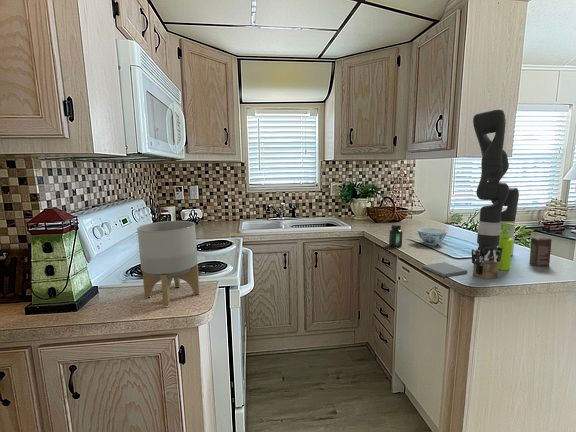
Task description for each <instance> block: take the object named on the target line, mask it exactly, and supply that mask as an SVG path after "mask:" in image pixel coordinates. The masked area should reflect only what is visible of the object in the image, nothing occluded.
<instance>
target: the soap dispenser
mask: <svg viewBox="0 0 576 432" xmlns="http://www.w3.org/2000/svg"><path fill="white" fill-rule="evenodd" d="M501 224H503V229H502V230H501V231H500V241H499V245H498V247H502V248H503V250H502V255H501V260H500V262H497V263H499V267H498V271H499V270H500V271H509V270H511V265H512V264H511V261H512V255H513V254H512V244H513V239H511V238H509V237H510V231H509V230H508V225H511V226H515V227H517V226H518V225H517V224H516V223H515V224H513V223H501ZM511 254H512V255H511ZM496 257H497V258H498V255H497V256H496Z"/></svg>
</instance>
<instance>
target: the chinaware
mask: <svg viewBox="0 0 576 432" xmlns="http://www.w3.org/2000/svg"><path fill="white" fill-rule="evenodd" d="M447 232H448V231H447V230H446V229H442V228H437V227H436V228H434V227H422V228H421V227H420V228H417V234H418V237H419V238H420V239H421V240H422V241H423V242H424V244H425V245H427V244H428V246H437V244H438V245H439V243H440V242H442V241H444V239H445V237H446V236H447Z"/></svg>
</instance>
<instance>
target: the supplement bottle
mask: <svg viewBox="0 0 576 432" xmlns="http://www.w3.org/2000/svg"><path fill="white" fill-rule="evenodd" d="M390 228H391V229H389V235H388V236H389V237H388V246H389V248H395V249H398V248H400V249H401V248H402V247H403V231H402V225H401V224H397V223H395V224H391V227H390Z"/></svg>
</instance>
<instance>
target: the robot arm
mask: <svg viewBox="0 0 576 432" xmlns="http://www.w3.org/2000/svg"><path fill="white" fill-rule="evenodd" d="M472 118H473V119H472V124H473V130H474V132H475V135H476V138H477V142H478V144H479V147H480V151H481V156H482V157H481V168H480V169H481V175H480V180H479V182H478V185H477V188H476V197H477V198H478V199H479V200H480V201H490V202H491V204H490V205H485V206H481V207H480V210H479V211H480V212H479V220H478V221H479V223H478V225H477V235H476V237H477V238H476V243H477V244H478V247H477V248H476V249H474V248H472V249H471V263H472V264H473V265H474V264H476V273H477V274H479V275H482V270H483V263H484V261H486V260H491V261H494V262H500V260H501V255H502V250H503V248H502V247H498V245H499V241H500V231H501V230H502V229H503V224H501V223H513V224H516V216H517V211H518V205H519V199H520V198H519V196H520V191H519V189H518V188H517V187H512V186H509V185H508V184H507V183H506V182H504V181H501V180H502V179H503V178H504V176H505V175H506V173H507V171H508V170H509V167H510V163H509V159H508V158H509V157H508V153H507V152H506V151H505V150H504V143H505V136H506V135H505V134H506V126H507V125H506V124H507V122H506V114H505V112H504V110H503V109H502V108H494V109H491V110H487V111H483V112H480V113H475V114H474V115H473V117H472ZM493 133H494V136H493V138H492V139H490V137H489V136H488V134H493ZM504 207H506V209H505V210H503V208H504ZM515 227H516V226H511V225H508V230H509V231H510V237H509V238H511V239H513V244H512V254H511V256H512V255H514V248H515V238H516V237H515V229H516V228H515ZM497 255H498V258H497V257H496V256H497ZM475 260H476V261H475ZM480 260H481V262H480Z"/></svg>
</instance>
